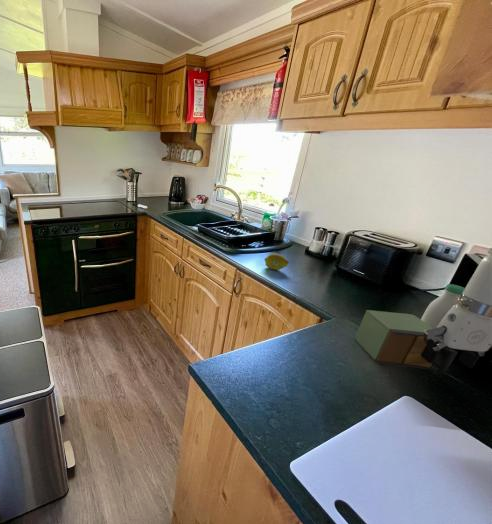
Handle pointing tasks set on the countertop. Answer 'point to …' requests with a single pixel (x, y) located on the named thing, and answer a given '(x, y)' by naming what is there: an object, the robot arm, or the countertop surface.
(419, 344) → the sliding door
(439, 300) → the milk bottle
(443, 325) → the robot arm
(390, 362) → the cupboard
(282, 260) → the lemon
